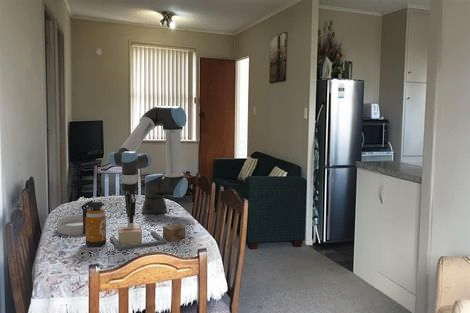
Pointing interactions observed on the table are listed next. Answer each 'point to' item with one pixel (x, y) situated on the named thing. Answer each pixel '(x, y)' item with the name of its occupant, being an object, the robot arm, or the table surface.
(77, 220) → the dish
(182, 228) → the walnut box
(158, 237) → the dark grey flat u-shape
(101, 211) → the canister
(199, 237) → the table surface
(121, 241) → the carton
